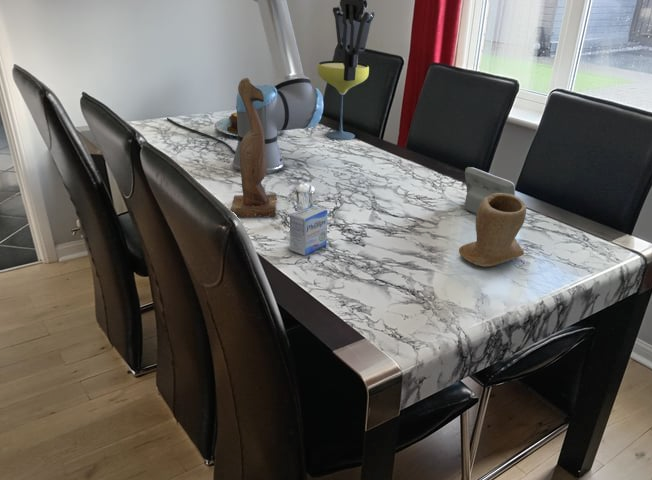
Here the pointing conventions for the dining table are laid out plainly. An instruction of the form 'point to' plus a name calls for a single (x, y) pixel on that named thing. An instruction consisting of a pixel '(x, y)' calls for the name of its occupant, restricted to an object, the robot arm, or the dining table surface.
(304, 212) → the medicine box
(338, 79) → the cocktail glass
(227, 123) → the food on plate
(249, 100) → the bird sculpture
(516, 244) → the stone cup
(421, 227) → the dining table surface
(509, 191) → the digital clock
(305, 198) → the milkshake
